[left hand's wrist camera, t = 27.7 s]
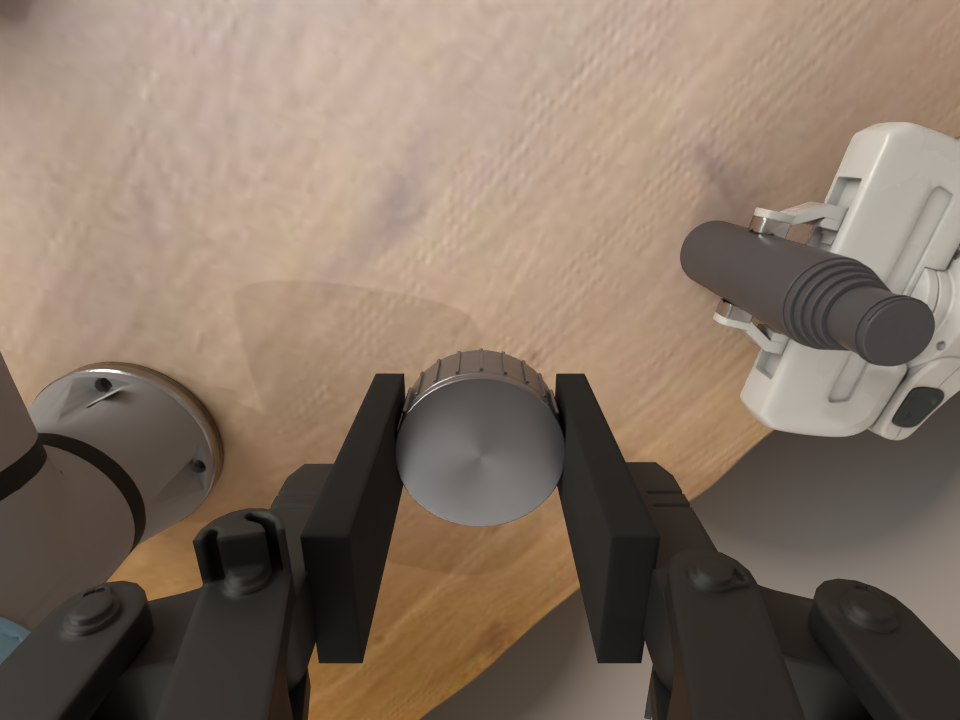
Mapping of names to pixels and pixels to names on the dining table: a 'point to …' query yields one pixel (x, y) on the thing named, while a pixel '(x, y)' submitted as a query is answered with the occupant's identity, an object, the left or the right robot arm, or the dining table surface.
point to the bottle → (808, 293)
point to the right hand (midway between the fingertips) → (737, 267)
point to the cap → (480, 439)
